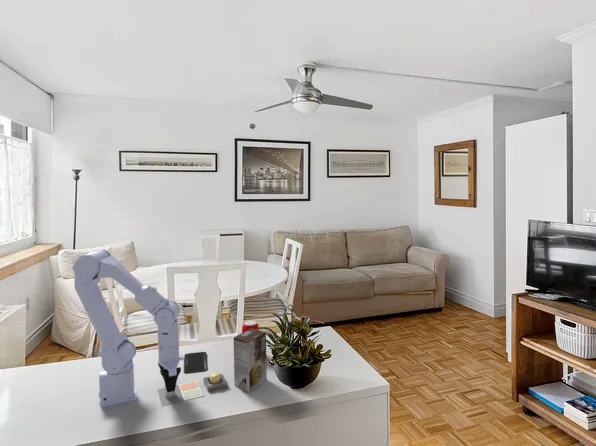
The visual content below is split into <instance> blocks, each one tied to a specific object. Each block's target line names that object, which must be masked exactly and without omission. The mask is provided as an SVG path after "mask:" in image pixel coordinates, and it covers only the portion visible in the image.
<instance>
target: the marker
mask: <svg viewBox="0 0 596 446" xmlns="http://www.w3.org/2000/svg"><path fill="white" fill-rule="evenodd" d="M164 369H165V368H164ZM163 382H164V384H163V385H164V388H165V397H166V398H171V397H174V396H175V395H176V393H175V391H173V392H167V390H166V386H165V381H164V380H163Z"/></svg>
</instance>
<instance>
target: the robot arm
mask: <svg viewBox="0 0 596 446" xmlns="http://www.w3.org/2000/svg"><path fill="white" fill-rule="evenodd" d="M71 269H72V270H73V272H74V285H73V286H74V289H75V291H76V293H77V295H78V298H79V300H80V302H81V304H82V306H83V308H84V310H85V312H86V313H87V316H88V318H89V320H90V323H91V325H92V326H93V328H94V330H95V332H96V335H97V337H98V338H99V341H100V343H101V344H100V348H99V349H100V350H99V355H100V357H101V366H102V369H103V370H101V371H99V373H98V385H99V391H98V398H99V403H100V406H99V407H100V408H104V407H108V406H113V405H114V406H115V405H118V404H122V403H125V402H131V401H135V400H137V399H138V396H137V388H136V386H135V374H134V373H135V371H134V370H135V369H134V368H135V367H134V362H133V358H135V356H136V353H137V347H136V345H135V344H134V343H133V341H131V340H130V338H129V337H128V335H126V334H125V333H122V332H121V331H120V329H119V327H118V325H117V323H116V321H115V318H114V316H113V315H112V312H111V310H110V309H109V305H108V304H107V303H106V302H107V301H106V300H105V298H104V296H103V293H102V292H101V290H100V287H99V283H100V281H101V278H102V279H103V278H104V279H106V278H108V279H110V278H111V279H113V280H114V281H115V282H116V283H118V284H119V285H120V286H122V287H123V288H125V289H127V290H128V291H129V292H130V293H132V294H133V295H134V299H135V300H134V301H135V302H136V303H137V304H138V305H139V306H140V307H142V308H143V309H144V310H145V311H147V312H148V313H149V314H151V315H152V316H153V320H154V323H155V325H157V345H158V349H157V350H158V359H157V364H158V365H157V366H158V367H159V369H160V370H159V373H160V375H161V377H162V378H163V382H164V381H165V386H166V390H167V392H173V391H175V388H176V385H177V381H178V378H179V375H180V373H181V372H182V369H181V368H182V367H181V366H179V363H180V361H182V360H183V361H184V355H183V354H180V343H179V342H180V341H179V338H180V335H179V334H180V333H179V319H178V317H180V314H181V308H180V305H179V304H178V303H177V301H175V300H170V299H169V298H165V296H163V294H161V293H160V292H159V291H157V290H158V288H157V287H155V286H153V287H152V285H144V284H142V283H141V281H139V280H138V279H137V278H136V277H135V276H134V275H133V274H132V273H131V272H130V271H129V270H127V269H126V268H125V266H123V265H122V264H121V263H120V261H119V260H118V259H117V257H116V256H114V255H112V254H111V253H110V252H109V251H108V250H106V249H101V248H99V249H97V250H94V251H92V252H90V253H87V254H82V255H81V256H78V258H76V260H75V262H74V264H73V265H72V268H71ZM178 366H179V367H178ZM164 368H165V369H164ZM165 386H164V387H165Z"/></svg>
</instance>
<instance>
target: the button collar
mask: <svg viewBox="0 0 596 446" xmlns="http://www.w3.org/2000/svg"><path fill="white" fill-rule="evenodd" d="M220 379H221V382H220V383H216V384H210V376H206V377H203V385H204V386H205V389H206V391H207V393H208V392H213V391H217V390H222V389H226V388H228V381H227V379H226V378H225V377H224V374H223V373H220Z"/></svg>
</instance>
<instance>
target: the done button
mask: <svg viewBox="0 0 596 446" xmlns="http://www.w3.org/2000/svg"><path fill="white" fill-rule="evenodd" d="M220 374H221V373H220V372H212V373H210V374H209V377H210V385H211V384H216V383H220V382H221V379H220Z"/></svg>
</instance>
